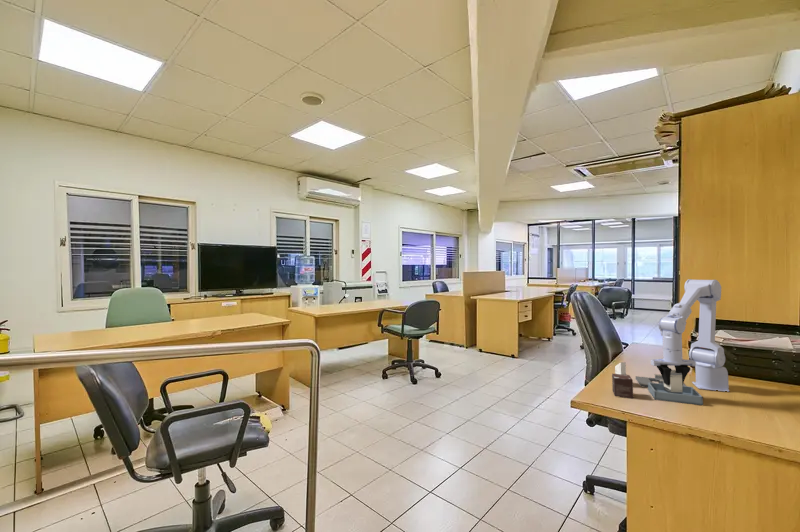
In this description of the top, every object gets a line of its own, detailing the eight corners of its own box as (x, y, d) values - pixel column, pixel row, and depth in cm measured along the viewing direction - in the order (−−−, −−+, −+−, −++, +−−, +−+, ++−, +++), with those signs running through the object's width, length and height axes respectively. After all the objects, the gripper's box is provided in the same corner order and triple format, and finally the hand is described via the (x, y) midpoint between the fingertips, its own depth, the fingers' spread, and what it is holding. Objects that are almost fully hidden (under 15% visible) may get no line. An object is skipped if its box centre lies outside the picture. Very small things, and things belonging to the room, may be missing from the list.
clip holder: (681, 383, 142) (681, 376, 142) (689, 392, 132) (689, 384, 132) (635, 378, 149) (635, 371, 149) (640, 386, 139) (640, 379, 139)
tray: (692, 394, 129) (692, 386, 129) (703, 405, 119) (702, 397, 119) (648, 389, 135) (647, 382, 135) (654, 399, 125) (654, 391, 125)
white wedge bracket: (626, 383, 136) (620, 362, 140) (617, 388, 144) (612, 368, 148) (636, 384, 135) (630, 362, 139) (626, 389, 143) (621, 368, 148)
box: (630, 393, 132) (629, 374, 132) (633, 399, 127) (633, 379, 127) (612, 391, 135) (611, 373, 135) (614, 396, 129) (614, 377, 129)
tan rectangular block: (675, 390, 129) (674, 369, 129) (682, 394, 125) (681, 373, 125) (663, 390, 130) (663, 369, 130) (670, 394, 126) (670, 372, 126)
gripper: (685, 346, 130) (686, 381, 130) (645, 346, 132) (646, 380, 132) (699, 350, 123) (700, 387, 123) (656, 350, 125) (658, 387, 125)
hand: (673, 384), depth 127 cm, fingers closed on tan rectangular block, 4 cm apart
